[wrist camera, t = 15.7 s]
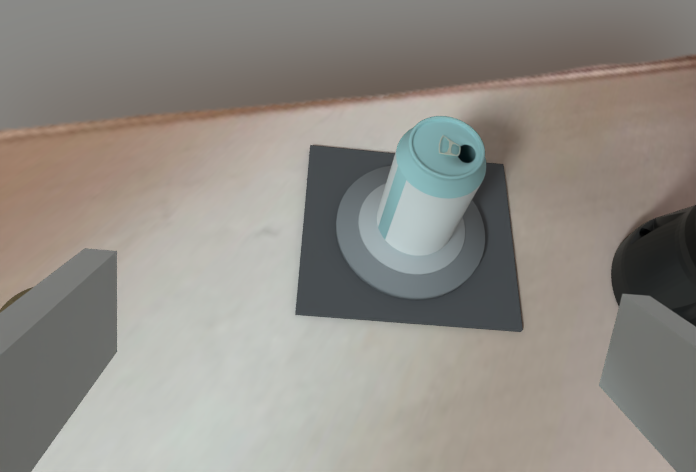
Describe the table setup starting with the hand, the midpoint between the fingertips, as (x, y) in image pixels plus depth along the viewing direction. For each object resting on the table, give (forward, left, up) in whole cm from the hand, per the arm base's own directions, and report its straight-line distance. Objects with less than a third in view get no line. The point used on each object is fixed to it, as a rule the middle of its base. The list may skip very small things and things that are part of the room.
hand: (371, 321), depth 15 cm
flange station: (-8, -22, -33) cm, 40 cm away
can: (-8, -22, -31) cm, 39 cm away
